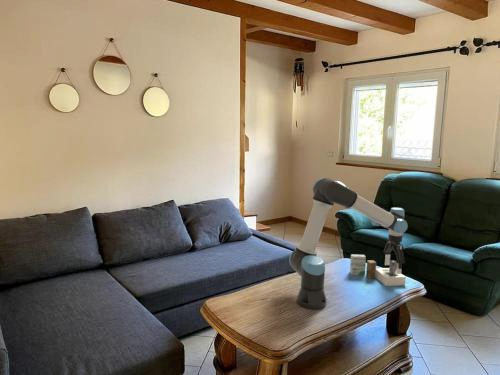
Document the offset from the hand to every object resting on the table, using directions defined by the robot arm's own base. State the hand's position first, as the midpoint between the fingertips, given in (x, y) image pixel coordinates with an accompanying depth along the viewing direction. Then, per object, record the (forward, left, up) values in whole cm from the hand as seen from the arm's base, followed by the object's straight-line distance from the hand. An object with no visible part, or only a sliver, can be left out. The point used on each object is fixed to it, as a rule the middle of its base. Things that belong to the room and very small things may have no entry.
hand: (392, 269), depth 214 cm
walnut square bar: (-9, +9, -8) cm, 15 cm away
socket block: (0, +3, -8) cm, 9 cm away
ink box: (-15, +15, -8) cm, 23 cm away
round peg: (0, 0, -7) cm, 7 cm away
